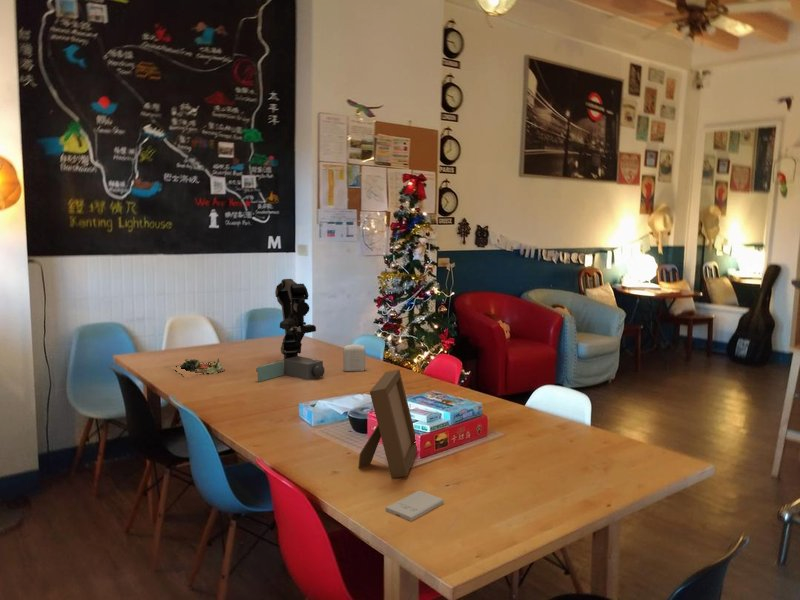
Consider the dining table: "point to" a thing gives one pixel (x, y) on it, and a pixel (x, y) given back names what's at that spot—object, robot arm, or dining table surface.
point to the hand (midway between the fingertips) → (297, 345)
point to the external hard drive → (414, 505)
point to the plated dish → (201, 366)
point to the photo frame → (391, 426)
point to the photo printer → (354, 358)
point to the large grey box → (303, 367)
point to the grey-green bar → (270, 371)
